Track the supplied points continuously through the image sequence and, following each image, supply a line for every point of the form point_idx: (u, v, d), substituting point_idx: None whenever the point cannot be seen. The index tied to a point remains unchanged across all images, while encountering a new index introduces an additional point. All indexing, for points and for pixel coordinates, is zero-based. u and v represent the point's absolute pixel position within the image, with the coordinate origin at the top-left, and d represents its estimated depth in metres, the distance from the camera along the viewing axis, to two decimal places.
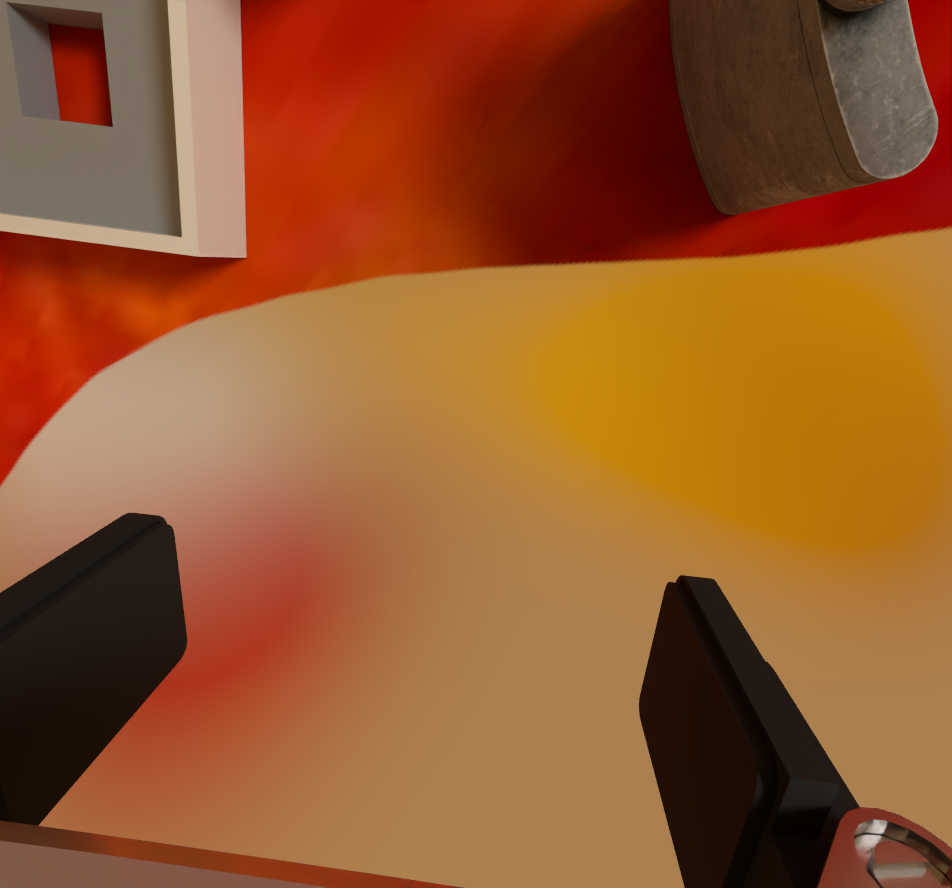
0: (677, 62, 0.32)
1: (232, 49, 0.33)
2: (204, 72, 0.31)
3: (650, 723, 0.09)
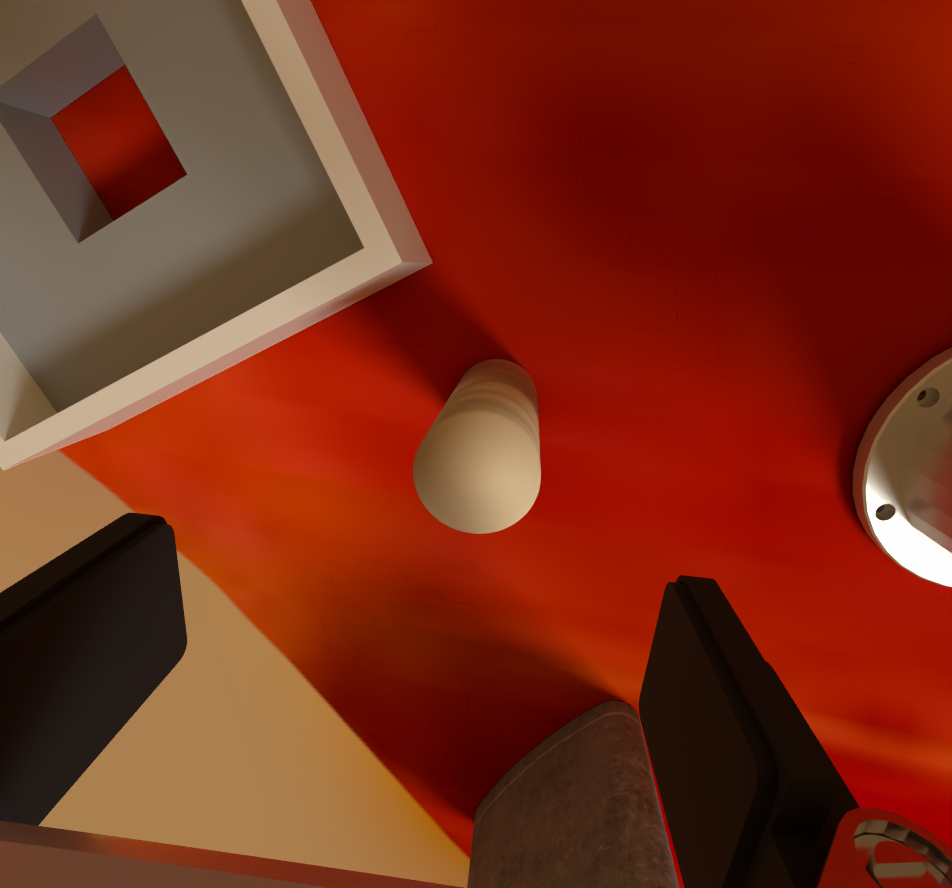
0: (554, 742, 0.31)
1: (286, 335, 0.25)
2: (208, 368, 0.22)
3: (650, 723, 0.09)
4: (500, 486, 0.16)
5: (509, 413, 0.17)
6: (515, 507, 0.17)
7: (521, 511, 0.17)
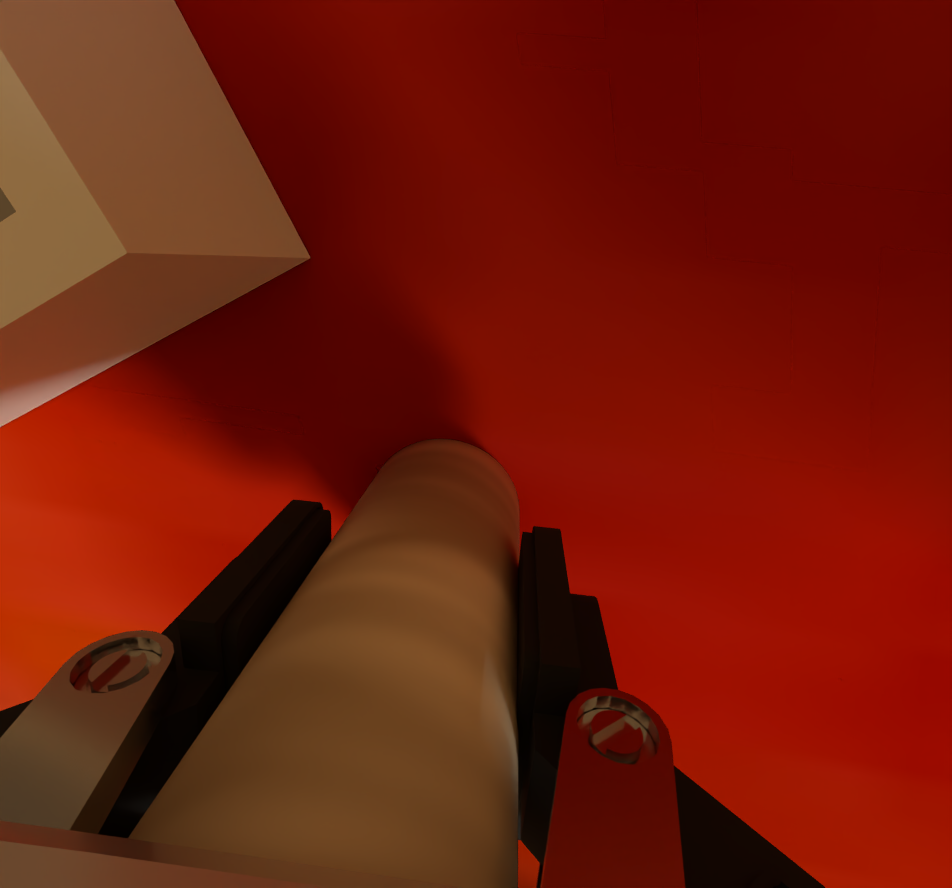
0: None
1: (29, 400, 0.13)
2: None
3: None
4: None
5: (412, 760, 0.05)
6: None
7: None
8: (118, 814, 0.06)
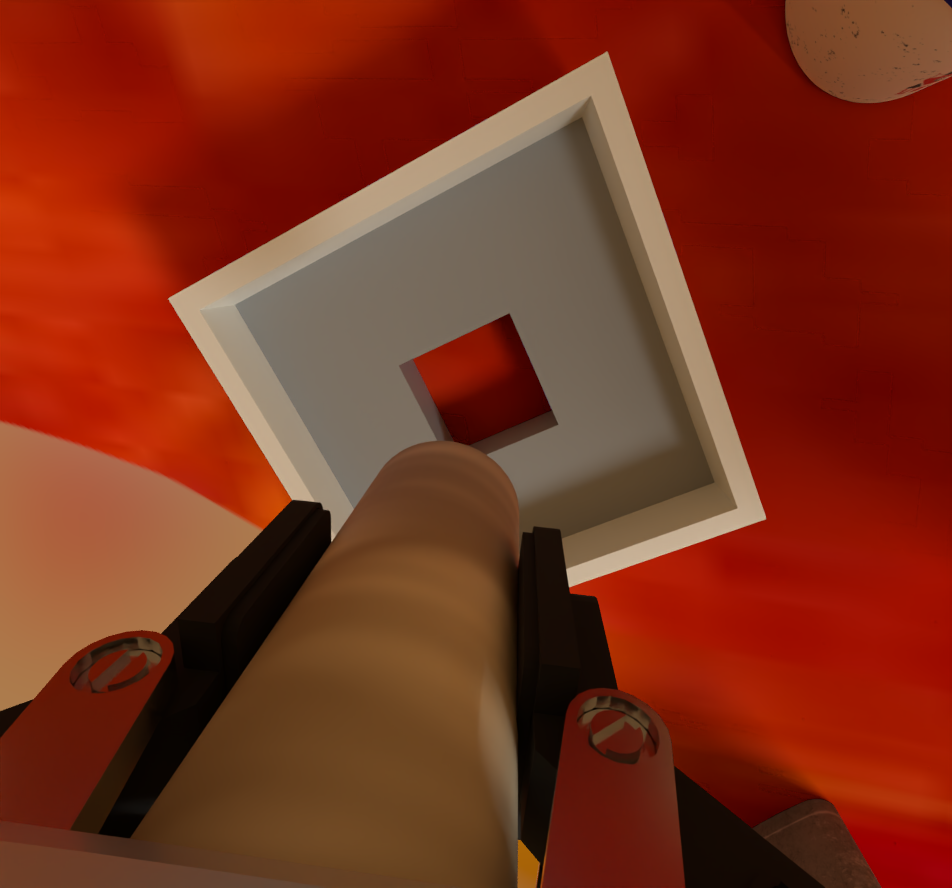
0: (764, 834, 0.37)
1: None
2: None
3: None
4: None
5: (410, 768, 0.05)
6: None
7: None
8: (118, 814, 0.06)
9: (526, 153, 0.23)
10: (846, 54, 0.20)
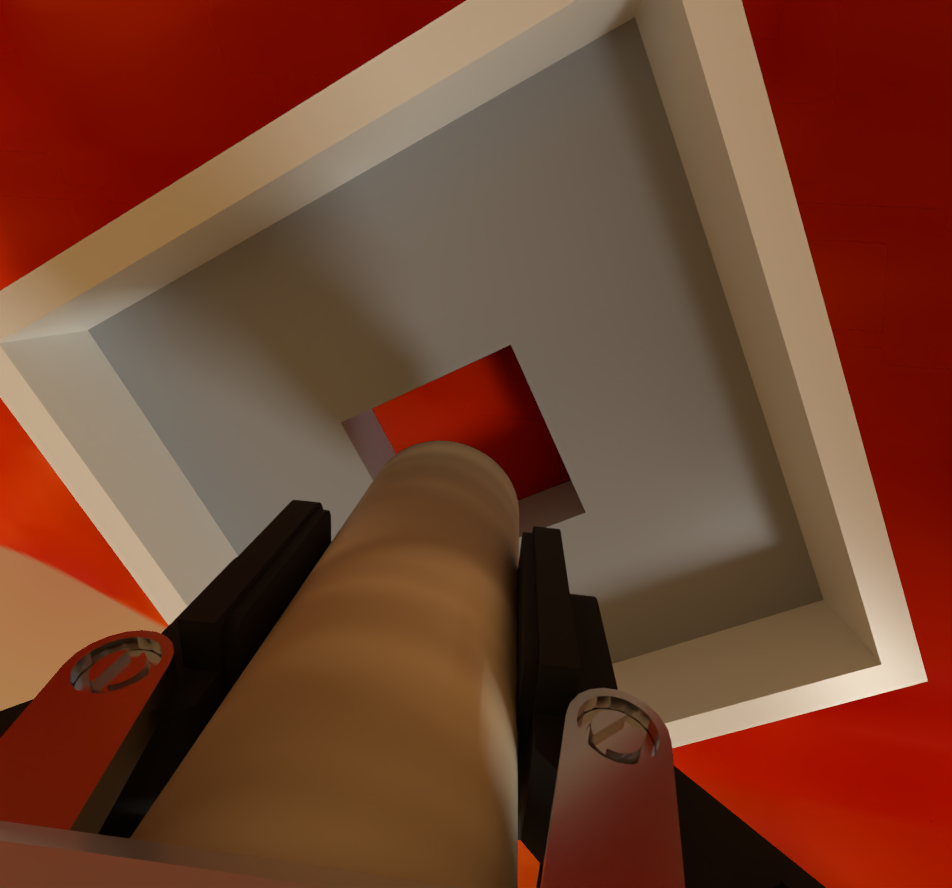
0: None
1: None
2: None
3: None
4: None
5: (410, 768, 0.05)
6: None
7: None
8: (118, 814, 0.06)
9: (539, 82, 0.13)
10: None
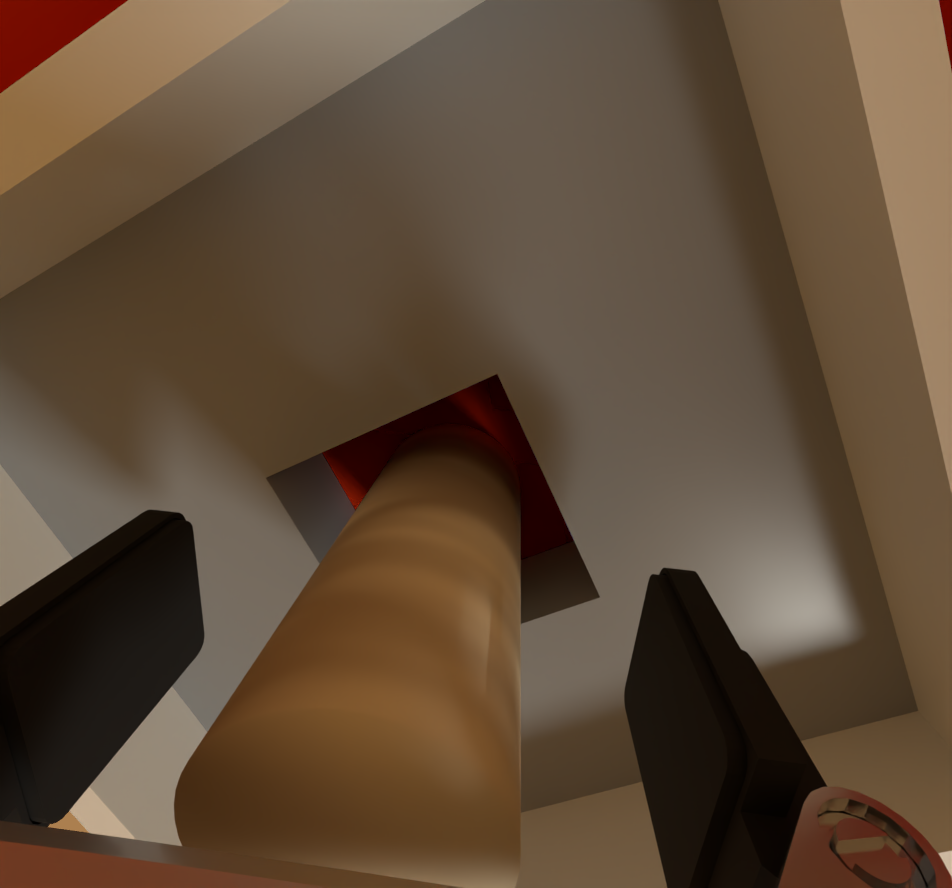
0: None
1: None
2: None
3: (634, 712, 0.09)
4: (412, 869, 0.06)
5: (438, 657, 0.06)
6: None
7: None
8: None
9: None
10: None
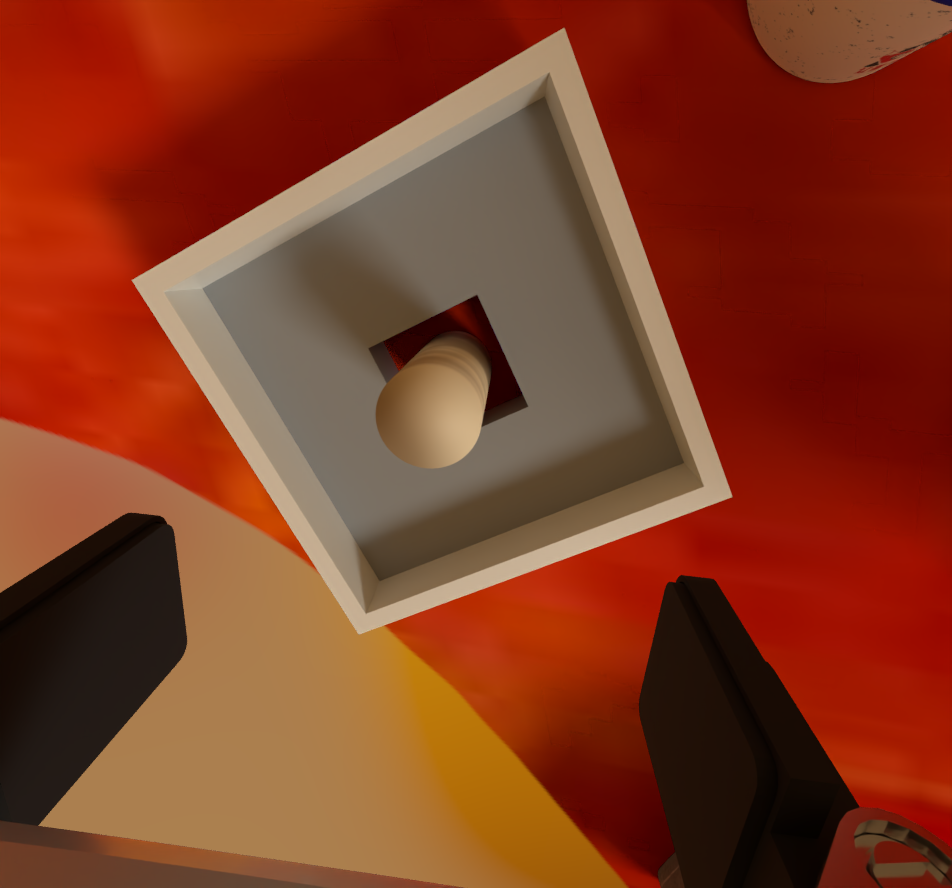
0: None
1: None
2: None
3: (650, 723, 0.09)
4: (449, 426, 0.20)
5: (456, 366, 0.20)
6: (461, 444, 0.20)
7: (467, 448, 0.20)
8: None
9: (490, 133, 0.23)
10: (803, 31, 0.21)
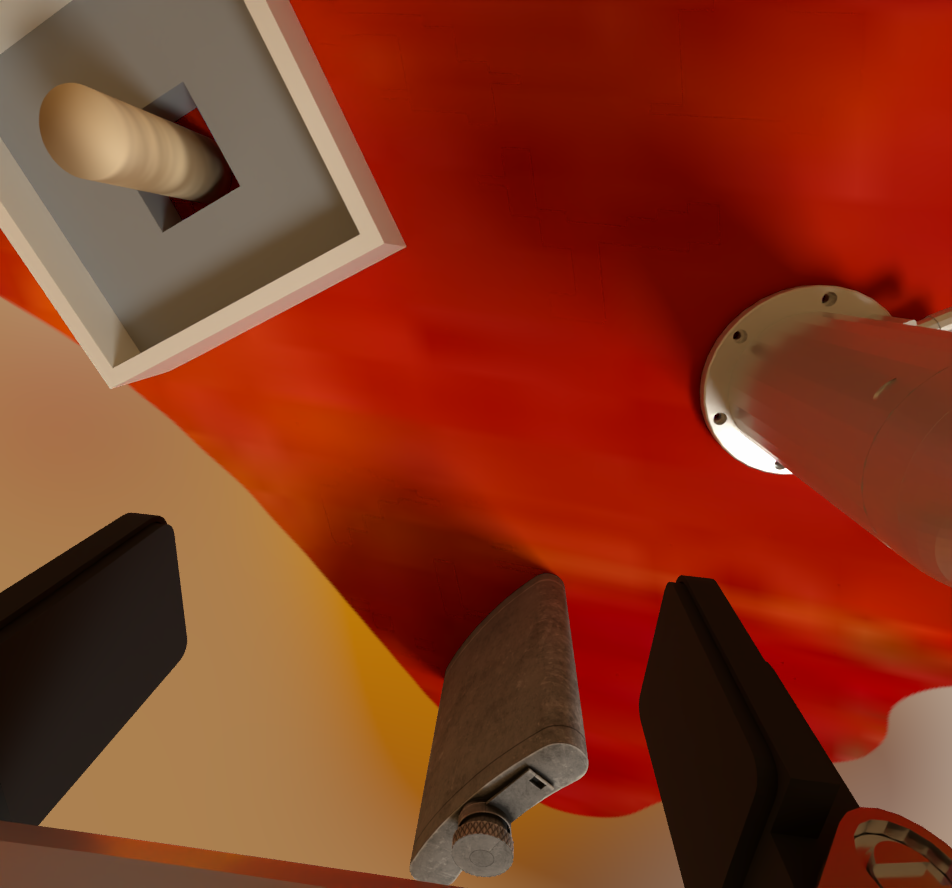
0: (502, 606, 0.42)
1: (304, 298, 0.35)
2: (253, 317, 0.32)
3: (650, 723, 0.09)
4: (96, 139, 0.25)
5: (108, 95, 0.25)
6: (110, 155, 0.25)
7: (114, 159, 0.25)
8: None
9: None
10: None
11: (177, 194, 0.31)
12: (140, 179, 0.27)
